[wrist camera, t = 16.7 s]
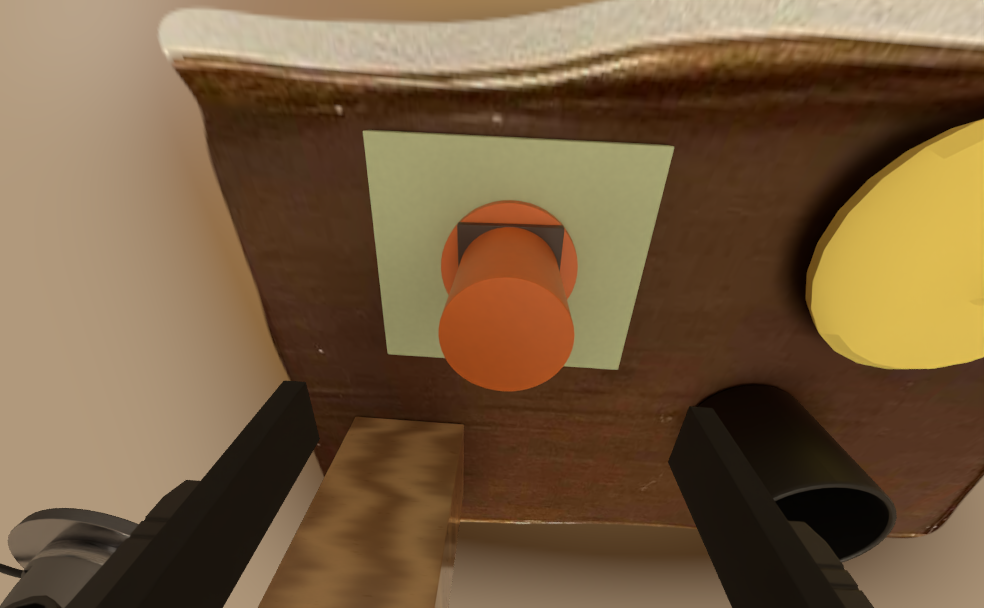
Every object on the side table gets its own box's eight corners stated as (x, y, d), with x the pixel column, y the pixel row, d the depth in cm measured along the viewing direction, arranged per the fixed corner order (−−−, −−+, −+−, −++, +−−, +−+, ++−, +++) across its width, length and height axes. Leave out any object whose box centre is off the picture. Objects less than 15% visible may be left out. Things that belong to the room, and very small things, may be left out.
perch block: (368, 486, 39) (284, 704, 25) (355, 416, 34) (243, 635, 20) (463, 494, 39) (433, 718, 25) (464, 424, 34) (427, 652, 20)
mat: (391, 347, 30) (387, 354, 29) (368, 129, 23) (362, 130, 22) (614, 362, 30) (617, 370, 29) (668, 144, 22) (674, 146, 21)
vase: (959, 353, 28) (1088, 425, 21) (744, 335, 28) (809, 401, 22) (1153, 114, 20) (1439, 119, 14) (856, 92, 20) (1005, 88, 14)
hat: (445, 321, 28) (418, 406, 20) (439, 197, 23) (401, 244, 16) (568, 326, 27) (588, 415, 20) (584, 202, 23) (619, 252, 15)
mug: (784, 477, 35) (864, 588, 27) (663, 450, 34) (708, 557, 26) (854, 403, 30) (975, 510, 22) (716, 371, 30) (790, 470, 22)
